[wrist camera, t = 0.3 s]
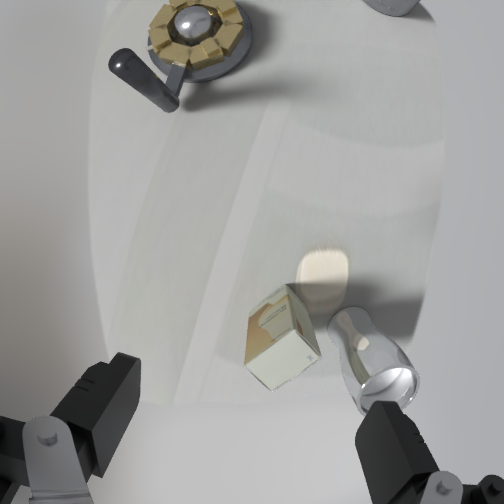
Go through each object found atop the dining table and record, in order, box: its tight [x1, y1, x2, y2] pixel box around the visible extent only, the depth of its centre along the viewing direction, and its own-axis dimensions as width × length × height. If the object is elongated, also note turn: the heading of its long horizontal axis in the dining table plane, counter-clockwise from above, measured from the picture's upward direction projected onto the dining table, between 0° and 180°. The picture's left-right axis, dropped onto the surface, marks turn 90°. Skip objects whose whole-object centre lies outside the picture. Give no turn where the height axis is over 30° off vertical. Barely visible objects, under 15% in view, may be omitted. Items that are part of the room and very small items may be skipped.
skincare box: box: [244, 285, 322, 392], centre depth 32 cm, size 6×4×12 cm
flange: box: [146, 4, 252, 83], centre depth 29 cm, size 13×13×6 cm
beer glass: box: [328, 307, 420, 416], centre depth 31 cm, size 7×7×15 cm
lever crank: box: [108, 0, 244, 113], centre depth 23 cm, size 16×11×14 cm, turn 154°
